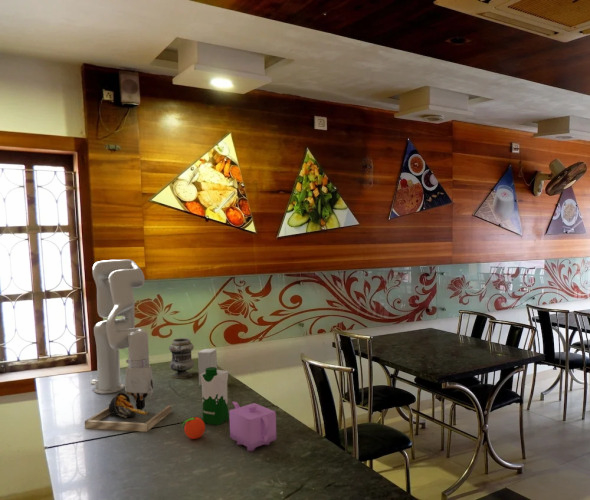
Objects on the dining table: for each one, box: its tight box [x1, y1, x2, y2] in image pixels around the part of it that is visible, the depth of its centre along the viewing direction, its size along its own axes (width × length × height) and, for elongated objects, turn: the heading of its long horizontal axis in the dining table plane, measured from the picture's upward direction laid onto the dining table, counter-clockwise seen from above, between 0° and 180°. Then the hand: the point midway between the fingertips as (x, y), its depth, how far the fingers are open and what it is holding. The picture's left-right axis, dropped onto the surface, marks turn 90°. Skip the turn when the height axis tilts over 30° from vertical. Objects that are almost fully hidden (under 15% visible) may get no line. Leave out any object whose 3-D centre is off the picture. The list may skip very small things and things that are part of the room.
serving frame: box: [84, 404, 172, 433], centre depth 180 cm, size 24×19×2 cm
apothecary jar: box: [168, 337, 195, 379], centre depth 237 cm, size 12×12×18 cm
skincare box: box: [197, 348, 218, 387], centre depth 223 cm, size 8×7×16 cm
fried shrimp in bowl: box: [108, 391, 149, 419], centre depth 183 cm, size 9×11×18 cm
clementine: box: [181, 416, 206, 440], centre depth 161 cm, size 8×7×7 cm
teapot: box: [228, 401, 277, 452], centre depth 157 cm, size 20×10×12 cm, turn 41°
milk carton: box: [200, 367, 230, 426], centre depth 176 cm, size 9×9×20 cm
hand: (140, 409), depth 188 cm, fingers closed
